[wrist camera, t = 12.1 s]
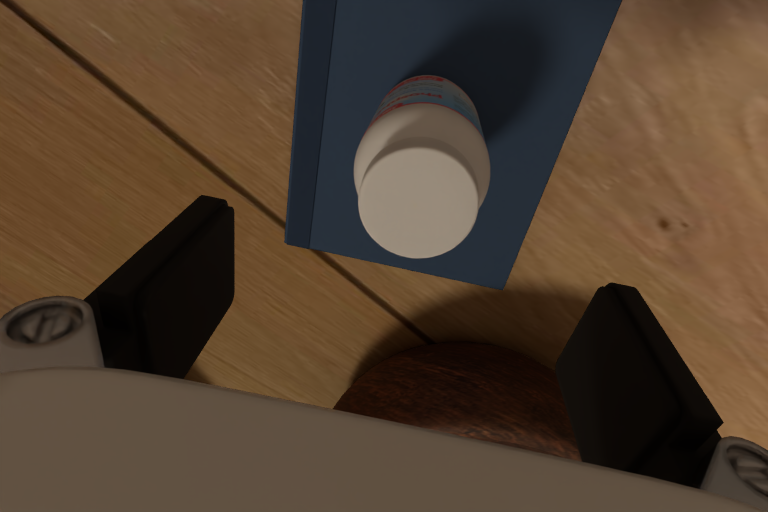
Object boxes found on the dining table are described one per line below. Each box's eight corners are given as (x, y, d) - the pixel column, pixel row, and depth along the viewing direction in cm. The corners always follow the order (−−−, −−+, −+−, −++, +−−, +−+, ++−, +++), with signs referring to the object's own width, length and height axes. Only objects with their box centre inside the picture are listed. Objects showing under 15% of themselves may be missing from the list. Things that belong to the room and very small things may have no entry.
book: (313, -112, 21) (310, -115, 21) (636, -41, 21) (639, -42, 21) (285, 240, 32) (283, 243, 31) (502, 287, 32) (503, 291, 31)
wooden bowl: (638, 475, 41) (693, 608, 32) (398, 519, 49) (390, 634, 40) (555, 266, 30) (603, 378, 22) (269, 366, 38) (219, 476, 30)
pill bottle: (430, 48, 24) (424, 85, 14) (499, 131, 26) (535, 212, 16) (354, 125, 26) (305, 200, 17) (422, 195, 28) (413, 298, 19)
